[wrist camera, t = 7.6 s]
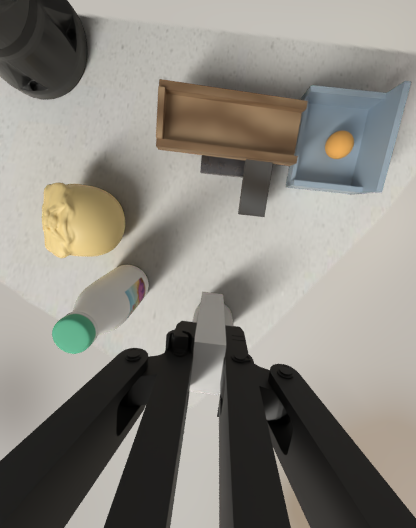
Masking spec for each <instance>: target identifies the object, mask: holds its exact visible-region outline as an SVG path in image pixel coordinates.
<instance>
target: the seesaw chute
mask: <svg viewBox="0 0 416 528" xmlns="http://www.w3.org/2000/svg"><path fill="white" fill-rule="evenodd" d="M307 103H308V101H304V100H297V99H290V98H284V97H277V96H270V95H263V94H256V93H250V92H243V91H236V90H229V89H223V88H216V87H209V86H202V85H195V84H189V83H182V82H175V81H168V80H161V79H160V80H159V87H158V107H157V127H156V138H157V139H156V146H157V148H158V149H159V150H166V151H174V152H182V153H190V154H198V155H206V156H214V157H222V158H230V159H238V160H245V166H244V174H243V181H242V189H241V196H240V204H239V211H238V214H241V215H251V216H260V217H264V216H265V210H266V203H267V197H268V191H269V185H270V178H271V172H272V166H273V164H278V165H286V166H291V165H294V164H297V158H298V156H294V154H295V148H296V142H297V137H298V131H299V125H300V120H301V114H302V112H304V111H305V110H306V108H307Z"/></svg>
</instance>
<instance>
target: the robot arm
mask: <svg viewBox="0 0 416 528" xmlns="http://www.w3.org/2000/svg"><path fill="white" fill-rule="evenodd" d="M86 59H87V42H86V36H85V32H84V29H83V26H82V23H81V21H80V19H79V17H78V15H77V13H76V12H75V11H74V9H73V8H72V6H71V5H70V4H69V2H68V1H67V0H0V77H2V78H3V79H4V80H5V81H6V82H7V83H8V84H10V85H11V86H13V87H14V88H16V89H18V90H19V91H21V92H23V93H25V94H27V95H29V96H31V97H34V98H38V99H55V98H58V97H61V96H63V95H65V94H67V93H68V92H69V91H71V90H72V89H73V88H74V87H75V85H76V84H77V83H78V81H79V80H80V78H81V76H82V74H83V71H84V68H85V64H86ZM189 392H198V393H206V394H215V395H219V393H220V400H219V407H218V414H217V417H219V504H220V505H219V506H220V507H219V509H220V510H219V521H220V522H219V524H220V525H219V528H291V526H290V522H289V518H288V513H287V509H286V504H285V500H284V495H283V491H282V486H281V482H280V477H279V473H278V468H277V464H276V460H275V455H274V451H273V448H274V450H275V452H276V454H277V456H278V459H279V461H280V463H281V465H282V467H283V470H284V472H285V474H286V476H287V478H288V480H289V482H290V485H291V487H292V489H293V491H294V493H295V495H296V497H297V499H298V502H299V504H300V506H301V508H302V510H303V512H304V515H305V517H306V519H307V521H308V523H309V525H310V527H311V528H416V518H415V517H414V516H413V514H412V513H411V512H410V511H409V509H408V508H407V507H406V506H405V504H403V502H402V501H401V500H400V498H399V497H398V496H397V495H396V493H395V492H394V491H393V490H392V488H391V487H390V486H389V485H388V483H387V482H386V481H385V480H384V478H383V477H382V476H381V475H380V473H379V472H378V471H377V470H376V469H375V467H374V466H373V465H372V464H371V462H370V461H369V460H368V459H367V458H366V456H365V455H364V454H363V452H362V451H361V450H360V449H359V447H358V446H357V445H356V444H355V443H354V441H353V440H352V439H351V437H350V436H349V435H348V434H347V433H346V431H345V430H344V429H343V428H342V426H341V425H340V424H339V423H338V421H337V420H336V419H335V418H334V416H333V415H332V414H331V413H330V411H329V410H328V409H327V408H326V406H325V405H324V404H323V403H322V401H321V400H320V399H319V398H318V396H317V395H316V394H315V393H314V391H313V390H312V389H311V388H310V387H309V385H308V384H307V383H306V382H305V380H304V379H303V378H302V377H301V375H300V374H299V373H298V372H297V371H296V370H295V369H293V368H292V367H290V366H287V365H284V364H275V365H273V366H271V368H270V370H267V369H264V368H261V367H259V366H257V365H256V364H254V361H253V359H252V357H251V356H250V355H249V354H248V350H247V345H246V340H245V335H244V331H243V330H242V329H241V328H240V327H236V326H227V325H225V315H224V299H223V294H216V293H208V292H202V298H201V303H200V309H199V315H198V321H197V323H196V322H187V321H181V322H180V323H178V324H177V326H176V329H175V330H172V331H170V332H168V334H167V337H166V350H165V353H163V354H161V355H158V356H150V357H148V353H147V352H146V351H145V350H143V349H139V348H130V349H126V350H124V351H122V352H121V353H120V354H118V355H117V356H116V357H115V358H114V359H113V360H112V361H111V362H110V363H109V364H107V365H106V366H105V367H104V368H103V369H102V370H101V371H100V372H99V373H97V374H96V375H95V376H94V377H93V378H92V379H91V380H90V381H89V382H87V383H86V384H85V385H84V386H83V387H82V388H81V389H80V390H79V391H77V392H76V393H75V394H74V395H73V396H72V397H71V398H70V399H68V400H67V401H66V402H65V403H64V404H63V405H62V406H61V407H60V408H58V409H57V410H56V411H55V412H54V413H53V414H52V415H51V416H50V417H49V418H47V419H46V420H45V421H44V422H43V423H42V424H41V425H40V426H39V427H38V428H36V429H35V430H34V431H33V432H32V433H31V434H30V435H29V436H27V437H26V438H25V439H24V440H23V441H22V442H21V443H20V444H19V445H18V446H16V447H15V448H14V449H13V450H12V451H11V452H10V453H9V454H7V455H6V456H5V457H4V458H3V459H2V460H1V461H0V528H64V527H65V525H66V524H67V523H68V521H69V520H70V518H71V516H72V515H73V514H74V512H75V510H76V509H77V508H78V506H79V505H80V503H81V502H82V500H83V499H84V498H85V496H86V495H87V493H88V492H89V490H90V489H91V487H92V486H93V484H94V483H95V481H96V480H97V478H98V477H99V475H100V474H101V472H102V471H103V469H104V468H105V466H106V465H107V463H108V462H109V460H110V459H111V458H112V456H113V455H114V453H115V452H116V450H117V449H118V447H119V446H120V444H121V443H122V441H123V440H124V438H125V437H126V435H127V434H128V432H129V431H130V429H131V428H132V426H133V425H134V423H135V422H136V421H137V419H138V418H139V416H140V415H141V413H142V412H143V410H144V408H145V406H146V408H145V411H144V414H143V417H142V419H141V422H140V425H139V428H138V431H137V434H136V437H135V439H134V442H133V445H132V448H131V451H130V454H129V457H128V459H127V462H126V465H125V468H124V471H123V474H122V477H121V480H120V483H119V486H118V488H117V491H116V494H115V497H114V500H113V503H112V505H111V508H110V511H109V514H108V517H107V520H106V523H105V525H104V528H170V524H171V517H172V510H173V503H174V496H175V489H176V482H177V475H178V468H179V461H180V455H181V448H182V441H183V434H184V426H185V419H186V413H187V406H188V399H189Z"/></svg>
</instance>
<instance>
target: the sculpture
mask: <svg viewBox="0 0 416 528" xmlns="http://www.w3.org/2000/svg"><path fill="white" fill-rule="evenodd" d="M42 223H43V230H44V237H45V247H46V248H47V249H48V251H50V252H52V253H53V254H54V255H55V256H57V257H59V258H65V257H67V256H69V255H73V256H99V255H103V254H105V253H108V252H110V251H111V250H113V249H114V248H115V247H116V246H117V245H118V244H119V242H120V241H121V239H122V237H123V234H124V230H125V216H124V212H123V209H122V207H121V205H120V204H119V202H118V201H117V200H116V199H115V198H114V197H113V196H112V195H111V194H109V193H108V192H106V191H104V190H102V189H100V188H97V187H93V186H87V185H81V184H67V185H65V184H63V183H54V184H52V185H51V184H49V185H47V186H46V187H45V189H44V204H43V206H42Z"/></svg>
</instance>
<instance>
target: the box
mask: <svg viewBox="0 0 416 528" xmlns="http://www.w3.org/2000/svg"><path fill="white" fill-rule="evenodd" d="M410 85H411V82H410V81H404V82H403V83H401V84H400V85H398V86H397V87H395V88H394V89H392V90H391V91H389V92H387V93H382V92H373V91H363V90H354V89H344V88H334V87H325V86H315V85H311V87H310V88H309V89H308V90H307V92H306V93H305V94H304V95H303V97H302V98H301V100H304V101H308V103H307V108H306V110H305V111H304V112H302V114H301V120H300V125H299V131H298V137H297V142H296V148H295V154H294V156H298V158H297V164H294V165H291V166H289V171H288V177H287V182H286V187H288V188H298V189H307V190H316V191H325V192H334V193H344V194H365V193H380V192H382V190H383V186H384V183H385V179H386V175H387V171H388V168H389V164H390V160H391V156H392V153H393V149H394V145H395V141H396V137H397V134H398V130H399V126H400V122H401V119H402V115H403V111H404V107H405V104H406V100H407V96H408V92H409V89H410ZM342 130H343V131H348V132H349V133H351V134H352V136H353V138H354V146H353V149H352V150H351V152H350V153H349V154H348V155H347V156H345V157H343V158H341V159H333V158H330V157H329V156H328V155H327V154H326V151H325V144H326V141H327V139H328V138H329V137H330V136H331V135H332V134H333V133H335V132H337V131H342Z"/></svg>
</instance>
